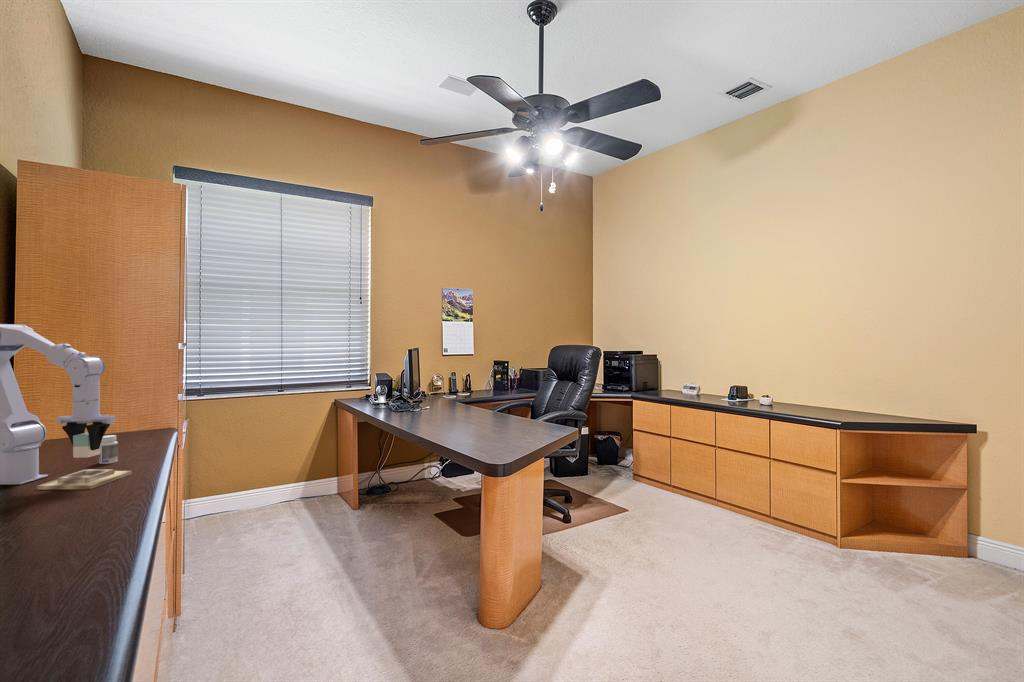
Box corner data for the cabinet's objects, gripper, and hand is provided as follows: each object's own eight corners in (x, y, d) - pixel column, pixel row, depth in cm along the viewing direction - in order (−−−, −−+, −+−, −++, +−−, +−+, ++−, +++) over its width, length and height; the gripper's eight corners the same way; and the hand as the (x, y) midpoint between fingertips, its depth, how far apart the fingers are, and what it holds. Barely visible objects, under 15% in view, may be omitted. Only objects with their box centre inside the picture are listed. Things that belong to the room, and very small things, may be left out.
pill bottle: (122, 460, 157) (121, 434, 157) (108, 464, 152) (108, 437, 152) (108, 460, 157) (108, 434, 157) (94, 464, 153) (94, 437, 153)
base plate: (36, 489, 127) (36, 481, 127) (83, 474, 141) (83, 466, 141) (91, 489, 127) (90, 480, 127) (131, 474, 141) (131, 466, 141)
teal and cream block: (73, 457, 132) (73, 435, 132) (85, 454, 136) (85, 432, 136) (88, 457, 132) (87, 435, 132) (100, 453, 136) (100, 432, 136)
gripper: (46, 402, 130) (46, 453, 130) (100, 402, 130) (101, 452, 130) (69, 399, 137) (70, 447, 137) (121, 398, 137) (121, 446, 137)
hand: (86, 449), depth 134 cm, fingers closed on teal and cream block, 4 cm apart
